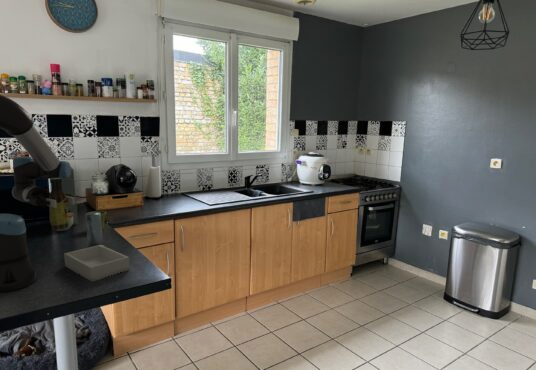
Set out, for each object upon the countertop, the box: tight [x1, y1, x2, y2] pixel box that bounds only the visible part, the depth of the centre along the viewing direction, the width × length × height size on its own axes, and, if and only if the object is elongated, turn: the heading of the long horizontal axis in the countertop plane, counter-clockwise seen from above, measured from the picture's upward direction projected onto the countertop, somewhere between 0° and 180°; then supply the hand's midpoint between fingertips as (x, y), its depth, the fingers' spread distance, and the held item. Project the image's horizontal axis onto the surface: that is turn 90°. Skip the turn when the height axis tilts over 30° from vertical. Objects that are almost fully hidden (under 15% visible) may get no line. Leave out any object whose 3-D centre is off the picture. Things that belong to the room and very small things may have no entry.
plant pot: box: [88, 210, 107, 231], centre depth 192 cm, size 9×9×9 cm
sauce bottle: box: [48, 178, 69, 231], centre depth 147 cm, size 6×6×20 cm
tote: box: [63, 245, 130, 283], centre depth 141 cm, size 22×14×5 cm, turn 49°
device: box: [62, 166, 79, 226], centre depth 204 cm, size 16×8×30 cm, turn 33°
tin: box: [84, 211, 104, 248], centre depth 164 cm, size 6×6×15 cm
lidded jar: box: [49, 212, 73, 232], centre depth 192 cm, size 11×11×9 cm
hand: (64, 202), depth 144 cm, fingers closed on sauce bottle, 6 cm apart
